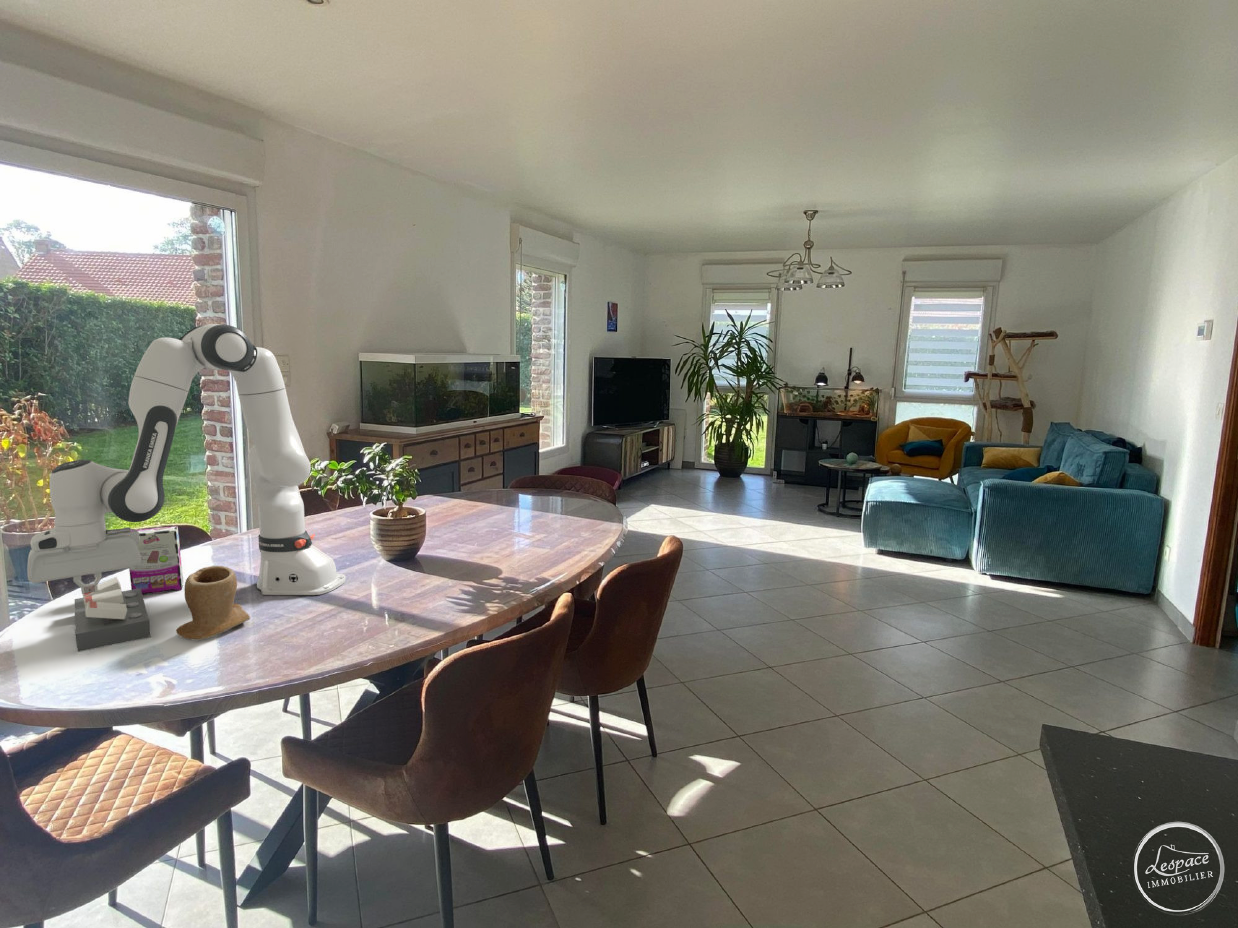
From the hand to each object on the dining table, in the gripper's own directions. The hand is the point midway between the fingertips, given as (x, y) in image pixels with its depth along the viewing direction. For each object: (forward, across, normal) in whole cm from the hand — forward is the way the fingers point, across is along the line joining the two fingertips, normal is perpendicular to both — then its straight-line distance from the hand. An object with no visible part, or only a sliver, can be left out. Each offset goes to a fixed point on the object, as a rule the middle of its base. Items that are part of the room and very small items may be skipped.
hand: (90, 592), depth 157 cm
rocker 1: (+3, -2, -8) cm, 8 cm away
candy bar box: (+9, -14, -20) cm, 26 cm away
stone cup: (+9, -22, +16) cm, 29 cm away
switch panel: (+9, -3, 0) cm, 9 cm away
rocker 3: (+3, -2, +8) cm, 8 cm away
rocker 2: (+3, -2, 0) cm, 4 cm away
